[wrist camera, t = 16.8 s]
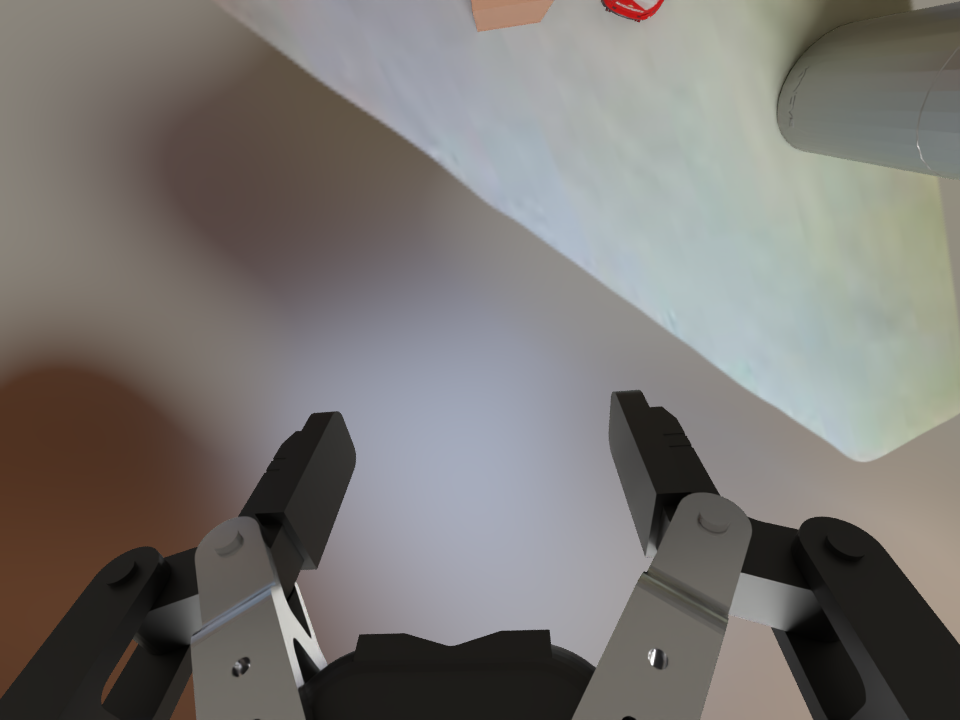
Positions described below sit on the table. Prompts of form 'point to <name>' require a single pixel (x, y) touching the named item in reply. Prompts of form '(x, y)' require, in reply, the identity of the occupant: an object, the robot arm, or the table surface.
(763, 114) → the table surface
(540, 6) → the peach block
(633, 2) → the race car
